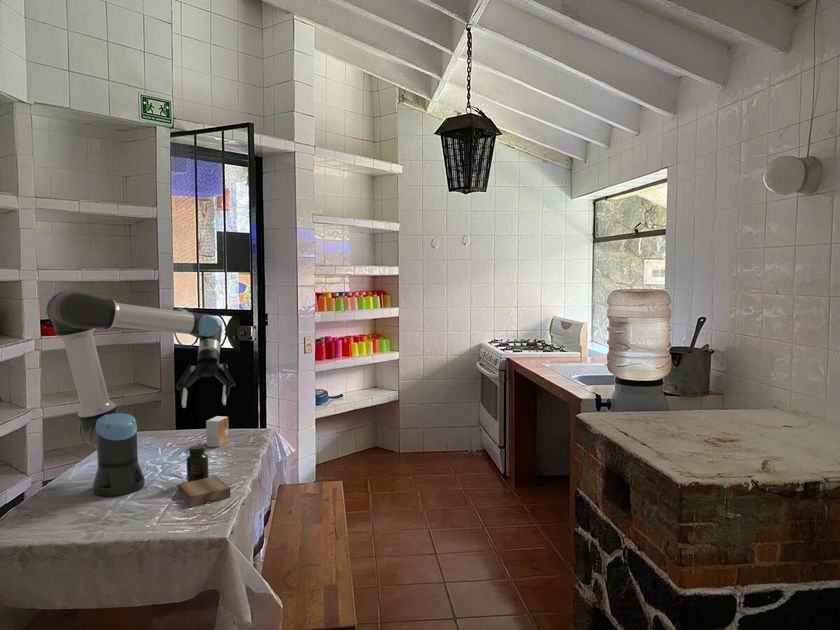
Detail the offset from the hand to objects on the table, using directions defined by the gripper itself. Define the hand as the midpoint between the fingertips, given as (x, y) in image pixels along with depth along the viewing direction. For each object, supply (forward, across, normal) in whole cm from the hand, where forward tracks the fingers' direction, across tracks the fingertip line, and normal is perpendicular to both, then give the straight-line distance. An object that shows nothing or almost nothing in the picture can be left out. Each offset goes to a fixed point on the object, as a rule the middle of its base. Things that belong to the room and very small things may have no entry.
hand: (203, 404), depth 212 cm
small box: (-3, +3, -39) cm, 39 cm away
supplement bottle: (+26, +1, -7) cm, 27 cm away
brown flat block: (+34, -3, +2) cm, 34 cm away
